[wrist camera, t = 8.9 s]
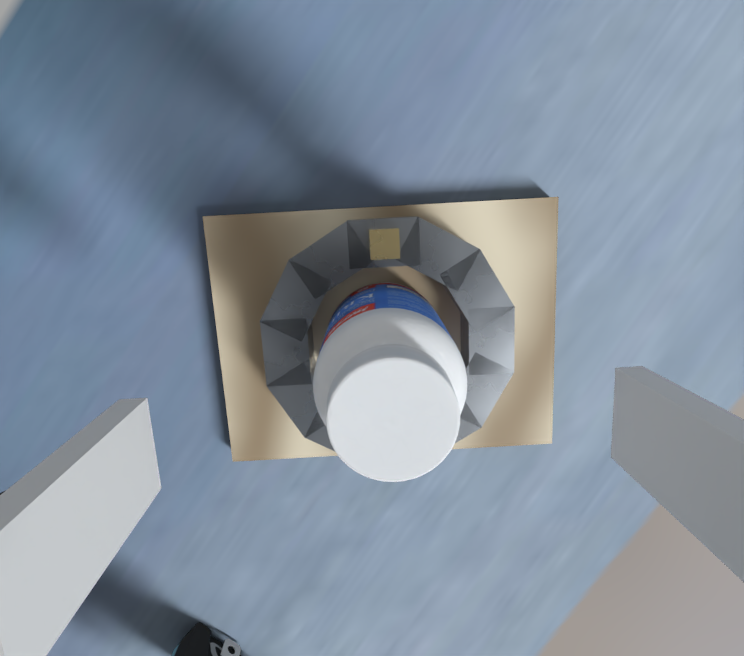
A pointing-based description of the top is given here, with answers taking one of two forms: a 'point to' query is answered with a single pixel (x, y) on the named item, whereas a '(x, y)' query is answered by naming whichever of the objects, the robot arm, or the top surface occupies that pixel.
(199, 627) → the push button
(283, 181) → the top surface
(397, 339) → the pill bottle
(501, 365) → the ring
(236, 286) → the board
